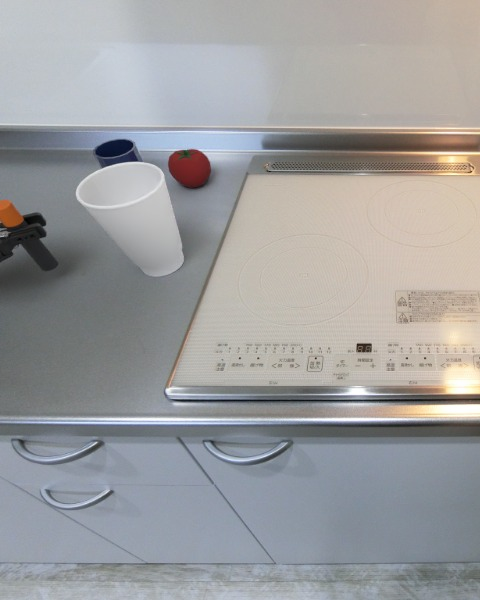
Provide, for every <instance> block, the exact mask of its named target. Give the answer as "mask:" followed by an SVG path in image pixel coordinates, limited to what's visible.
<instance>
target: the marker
mask: <svg viewBox="0 0 480 600" xmlns="http://www.w3.org/2000/svg"><path fill="white" fill-rule="evenodd" d="M22 216H23V215H22V214H21V213H20V211H19V210H18V209H17V208H16V206H15V205H14V204H13V203H12V201H11V200H8V199H2V200H0V221H1V222H2V223H3V225H4V226H6V228H5V229H8V230H9V231H10V230H11V229H16V228H19V227H23V226H27V225H28V224H27V222H26V221H25V220H24V218H23V217H22ZM20 246H21V247H22V248H23V249H24V250H25V252H26V253H27V254H28V255H29V256H30V257H31V258H32V260H33V261H34V262H35V264H36V265H37V266H38V267H39V268H40V269H41V271H43V272H51V271H53V270H55V269H57V268H58V266H59V262H58V260H57V259H56V258H55V257H54V255H53V254H52V253H51V252H50V250H49V249H48V248H47V246H46V245H45V244H44V242H43V241H42V240H41V239H38V240H33V241H30V242H26V243H23V244H20Z"/></svg>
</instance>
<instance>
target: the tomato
mask: <svg viewBox="0 0 480 600" xmlns="http://www.w3.org/2000/svg"><path fill="white" fill-rule="evenodd" d="M167 167H168V172H169V174H170V176H172V178H173V179H174V180H175V181H176V182H178V184H180V185H182V186H184V187H187V188H192V189H193V188H197V187H201V186H202V185H204V184H205V183H206V182H207V180H208V179H209V177H210V176H211V172H212V166H211V161H210V160H209V157H208V156H207V155H206V153H205V154H204V152H203V151H200V150H199V149H196V148H187V149H178V150H175V151H174V152H173V153H171V154H170V155H169V156H168V159H167Z"/></svg>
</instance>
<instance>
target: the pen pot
mask: <svg viewBox="0 0 480 600" xmlns="http://www.w3.org/2000/svg"><path fill="white" fill-rule="evenodd" d="M92 155H93V157H94V159H95V160H96V162H97V164H98V166H99V168H100V169H102V168H105V167H108V166H111V165H115V164H120V163H126V162H144V163H146V162H145V161H144V158H143V156H142V154H141V151H140V149H139V148H138V145H137V143H136V142H135V141H134V140H132V139H129V138H114V139H108V140H105V141H103V142H101V143H99V144H98V145H96V146H95V147H94V148H93V150H92Z"/></svg>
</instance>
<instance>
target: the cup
mask: <svg viewBox="0 0 480 600" xmlns="http://www.w3.org/2000/svg"><path fill="white" fill-rule="evenodd" d="M144 162H145V161H144ZM144 162H126V163H120V164H115V165H111V166H108V167H105V168H102V169H101V168H100V169H97V170H96V171H94V172H92V173H91V174H89V175H87V176H86V177H85V178H83V180H81V181H80V182H79V184H77V185H78V186H77V187H76V190H75V198H76V200H77V201H78V203H80V204H81V205H82V207H84V208H85V209H86V211H87V212H88V214H90V215H91V216H92V218H94V220H95V221H96V222H97V223H98V225H100V226H101V228H102V230H103V231H105V232H106V234H107V235H108V236H109V237H110V239H112V241H113V242H114V243H115V244H116V245H117V246H118V247H119V249H121V251H122V252H123V253H124V254H125V255H126V256H127V258H128V259H129V260H130V261H131V262H132V263H133V264H134V265H135V266H137V267H139V269H140V270H141V271H142V273H144V275H146V276H149V277H154V278H159V277H165V276H168V275H171V274H173V273H175V272H176V271H178V270H179V269H180V268H181V267H182V266H183V265H184V262H185V255H184V252H183V242H182V238H181V235H180V234H181V233H180V231H179V227H178V223H177V220H176V217H175V211H174V207H173V205H172V204H173V203H172V201H171V198H170V193H169V190H168V186H167V182H166V178H165V177H166V176H165V174H164V172H163V170H162V169H161V168H160V167H159V166H157V165H155V164H152V163H150V162H145V163H144Z"/></svg>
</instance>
